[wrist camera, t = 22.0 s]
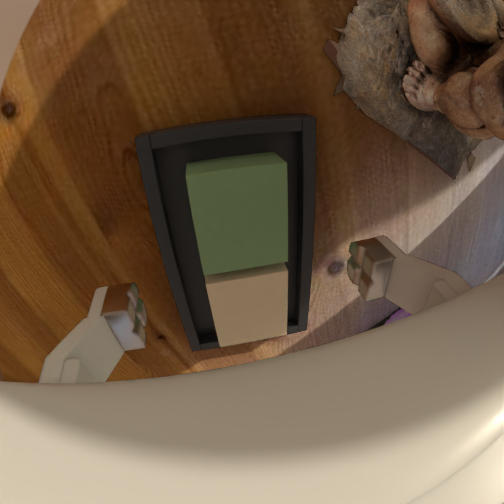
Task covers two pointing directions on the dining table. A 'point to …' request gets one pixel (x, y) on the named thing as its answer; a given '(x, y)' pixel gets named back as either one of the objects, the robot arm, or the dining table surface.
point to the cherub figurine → (427, 72)
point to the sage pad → (239, 211)
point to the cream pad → (249, 303)
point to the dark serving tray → (180, 216)
